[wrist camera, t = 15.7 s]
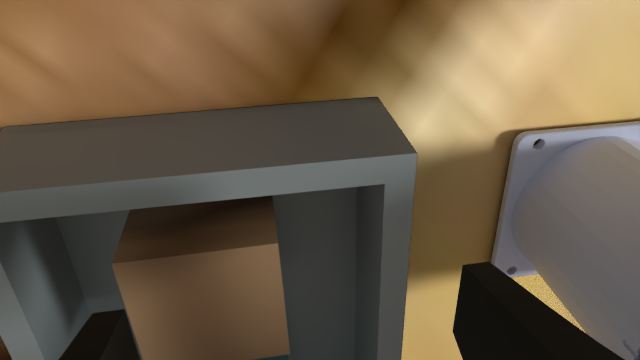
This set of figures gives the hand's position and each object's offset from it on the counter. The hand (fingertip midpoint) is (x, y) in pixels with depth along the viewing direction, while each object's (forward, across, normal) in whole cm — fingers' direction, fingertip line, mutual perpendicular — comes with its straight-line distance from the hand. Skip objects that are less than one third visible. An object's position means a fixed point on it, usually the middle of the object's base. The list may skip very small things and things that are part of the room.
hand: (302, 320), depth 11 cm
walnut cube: (+10, +3, +4) cm, 11 cm away
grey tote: (+10, +3, +8) cm, 13 cm away
